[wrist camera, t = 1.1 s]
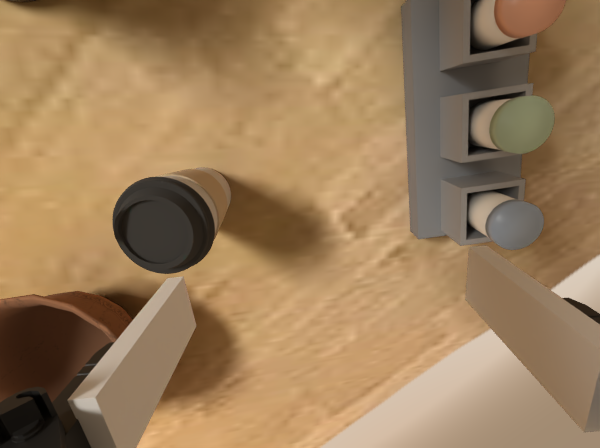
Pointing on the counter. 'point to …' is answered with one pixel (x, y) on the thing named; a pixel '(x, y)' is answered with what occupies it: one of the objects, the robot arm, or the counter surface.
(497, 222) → the plunger blue
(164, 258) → the coffee cup
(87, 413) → the robot arm
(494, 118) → the plunger sage
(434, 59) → the grey slotted block
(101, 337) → the bowl
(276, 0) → the counter surface
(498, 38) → the plunger terracotta
